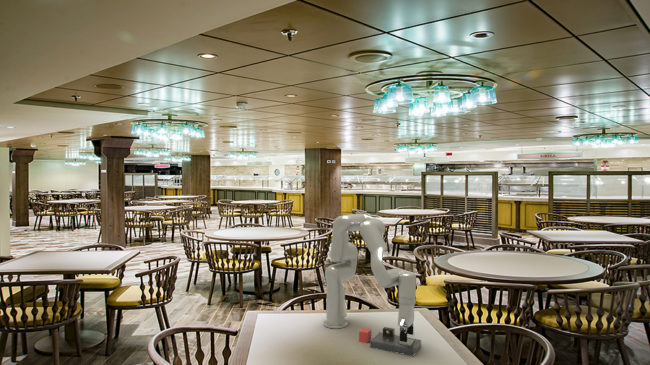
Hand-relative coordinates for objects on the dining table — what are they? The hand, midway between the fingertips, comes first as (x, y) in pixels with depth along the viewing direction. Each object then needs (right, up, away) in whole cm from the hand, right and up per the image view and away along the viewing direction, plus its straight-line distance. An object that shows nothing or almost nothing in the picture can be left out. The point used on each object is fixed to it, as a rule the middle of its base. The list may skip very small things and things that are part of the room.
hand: (406, 337), depth 191 cm
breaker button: (0, -4, 0) cm, 4 cm away
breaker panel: (-4, -5, +2) cm, 7 cm away
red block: (-18, -5, +9) cm, 21 cm away
